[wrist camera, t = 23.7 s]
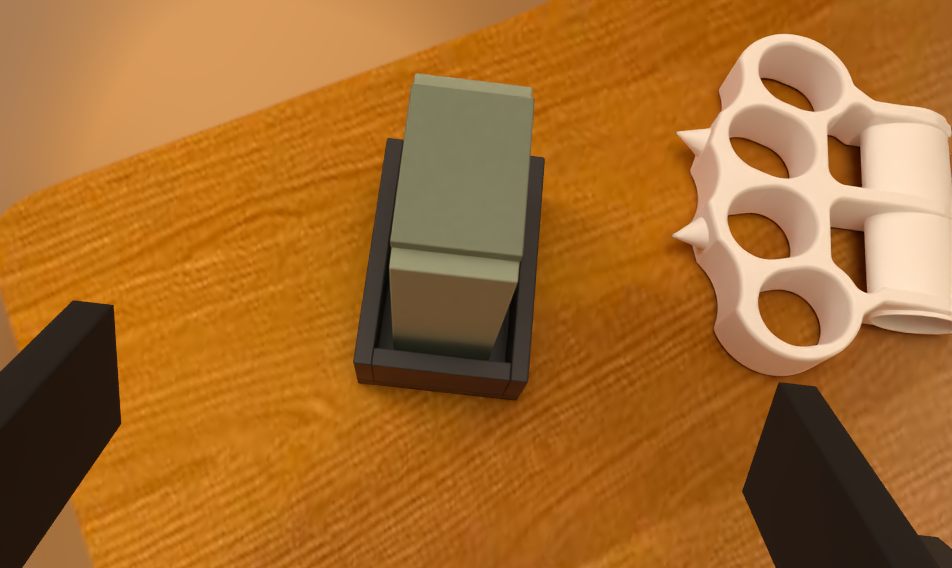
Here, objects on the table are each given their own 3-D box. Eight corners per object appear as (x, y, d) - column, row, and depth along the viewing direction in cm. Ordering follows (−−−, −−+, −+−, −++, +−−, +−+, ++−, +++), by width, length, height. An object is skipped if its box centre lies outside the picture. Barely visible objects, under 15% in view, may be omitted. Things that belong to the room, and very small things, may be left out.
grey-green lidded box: (392, 351, 39) (387, 263, 28) (411, 198, 41) (413, 64, 31) (489, 362, 39) (521, 278, 28) (502, 208, 42) (536, 79, 31)
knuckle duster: (944, 401, 41) (655, 360, 40) (921, 93, 47) (670, 54, 47) (990, 386, 38) (676, 342, 37) (957, 58, 44) (689, 16, 43)
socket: (357, 382, 39) (352, 363, 35) (388, 174, 43) (387, 137, 39) (517, 400, 39) (528, 382, 36) (533, 192, 43) (545, 156, 39)
